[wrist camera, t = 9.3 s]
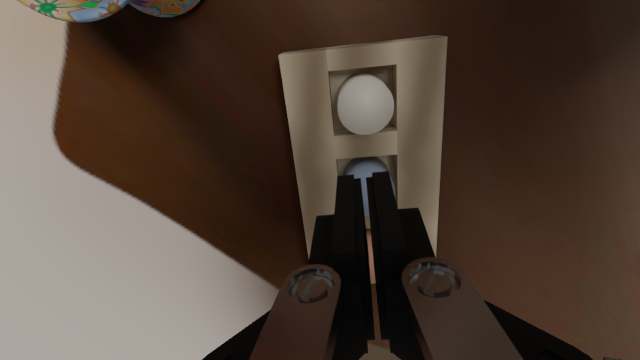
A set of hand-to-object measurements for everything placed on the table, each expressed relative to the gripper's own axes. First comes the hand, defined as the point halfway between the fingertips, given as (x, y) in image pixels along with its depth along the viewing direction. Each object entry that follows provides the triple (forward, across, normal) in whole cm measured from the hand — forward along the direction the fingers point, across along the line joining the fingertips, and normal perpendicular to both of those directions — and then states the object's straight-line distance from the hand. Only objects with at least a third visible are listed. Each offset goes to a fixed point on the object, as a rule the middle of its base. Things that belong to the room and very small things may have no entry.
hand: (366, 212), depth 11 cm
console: (+19, 0, +7) cm, 20 cm away
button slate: (+17, 0, +7) cm, 19 cm away
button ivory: (+18, 0, 0) cm, 18 cm away
